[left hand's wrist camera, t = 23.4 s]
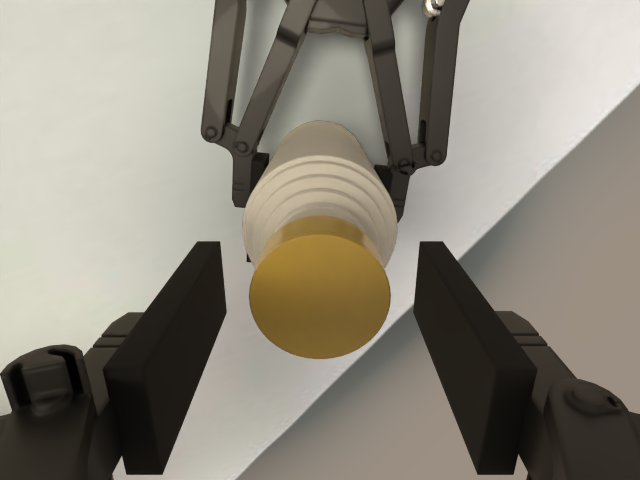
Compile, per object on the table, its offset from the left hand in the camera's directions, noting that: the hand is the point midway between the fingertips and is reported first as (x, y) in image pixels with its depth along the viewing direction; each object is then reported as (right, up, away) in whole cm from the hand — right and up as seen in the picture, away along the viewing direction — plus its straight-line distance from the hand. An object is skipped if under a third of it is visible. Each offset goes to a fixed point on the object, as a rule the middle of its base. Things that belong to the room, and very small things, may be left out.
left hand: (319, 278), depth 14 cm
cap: (0, 0, -1) cm, 1 cm away
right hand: (0, 0, +14) cm, 14 cm away
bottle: (0, +7, +18) cm, 19 cm away
